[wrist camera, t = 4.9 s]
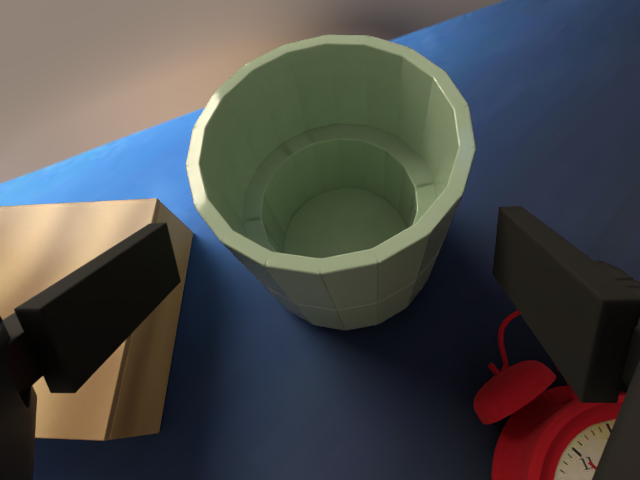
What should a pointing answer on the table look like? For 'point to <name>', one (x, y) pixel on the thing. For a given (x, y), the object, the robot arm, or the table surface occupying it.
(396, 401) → the table surface
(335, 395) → the table surface
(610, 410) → the alarm clock
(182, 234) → the box stand
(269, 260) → the plant pot
